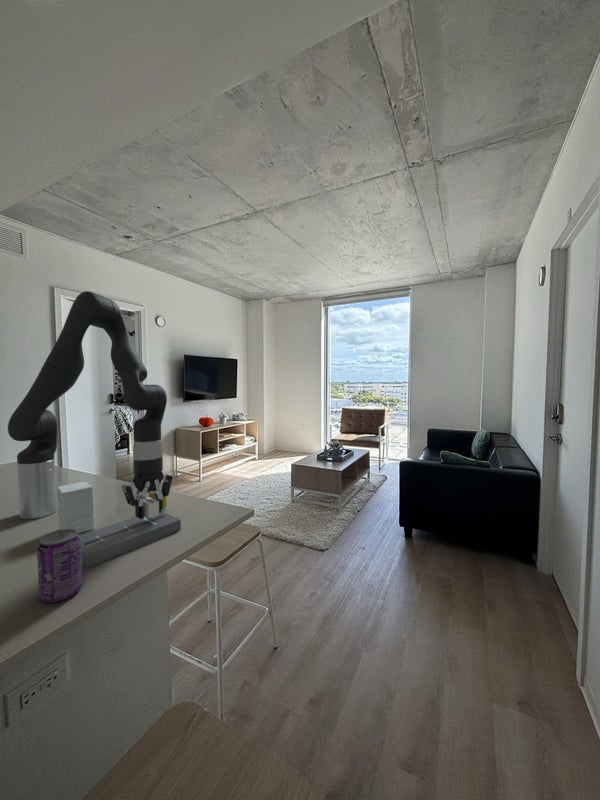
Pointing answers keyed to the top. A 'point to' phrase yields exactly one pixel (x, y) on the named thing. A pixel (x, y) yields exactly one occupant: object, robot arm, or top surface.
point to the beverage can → (59, 565)
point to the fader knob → (150, 507)
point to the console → (125, 537)
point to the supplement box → (76, 507)
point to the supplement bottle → (164, 501)
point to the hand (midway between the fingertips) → (149, 515)
